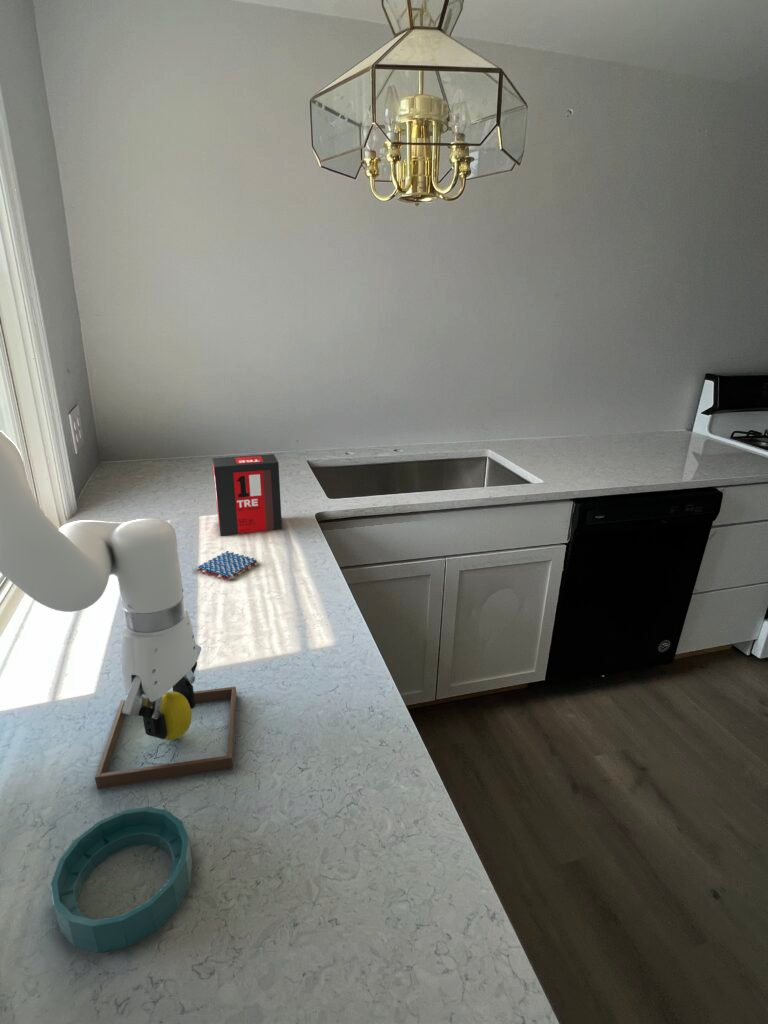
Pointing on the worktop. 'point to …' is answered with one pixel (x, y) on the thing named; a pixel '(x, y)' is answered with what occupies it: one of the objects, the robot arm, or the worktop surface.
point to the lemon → (175, 714)
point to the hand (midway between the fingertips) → (171, 719)
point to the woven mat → (227, 565)
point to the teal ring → (96, 848)
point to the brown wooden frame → (172, 769)
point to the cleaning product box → (247, 494)
